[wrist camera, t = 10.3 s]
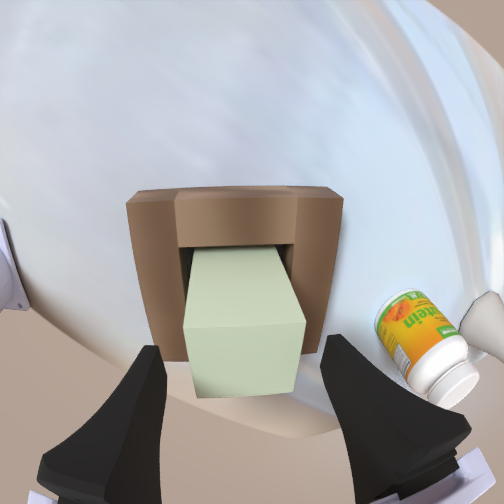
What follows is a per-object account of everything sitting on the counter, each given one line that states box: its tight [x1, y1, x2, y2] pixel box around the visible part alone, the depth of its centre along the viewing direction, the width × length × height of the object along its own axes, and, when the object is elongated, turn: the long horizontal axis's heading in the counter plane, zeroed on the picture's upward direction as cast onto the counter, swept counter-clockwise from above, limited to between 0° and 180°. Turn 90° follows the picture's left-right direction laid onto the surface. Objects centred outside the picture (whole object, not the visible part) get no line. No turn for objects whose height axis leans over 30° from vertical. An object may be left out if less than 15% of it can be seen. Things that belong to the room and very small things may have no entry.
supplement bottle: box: [375, 288, 479, 410], centre depth 17 cm, size 5×5×10 cm
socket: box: [126, 186, 344, 362], centre depth 17 cm, size 11×11×2 cm
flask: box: [459, 291, 504, 363], centre depth 20 cm, size 7×7×10 cm
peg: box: [183, 244, 306, 398], centre depth 15 cm, size 4×4×8 cm
